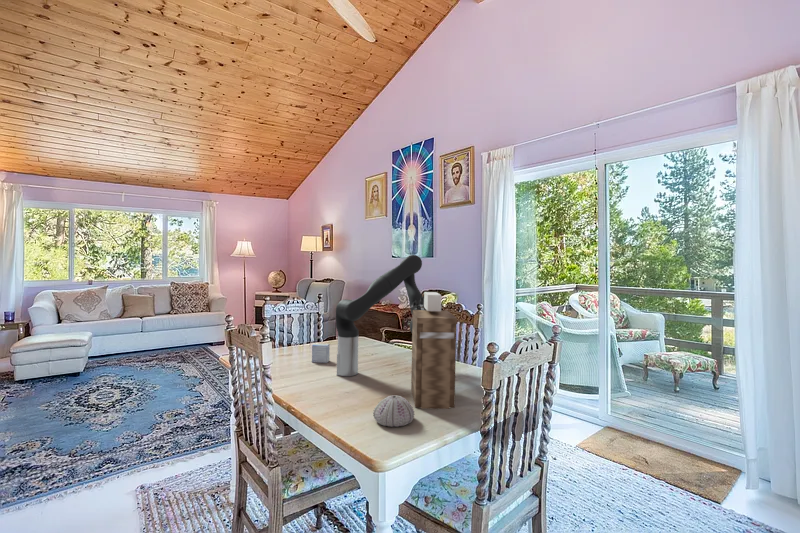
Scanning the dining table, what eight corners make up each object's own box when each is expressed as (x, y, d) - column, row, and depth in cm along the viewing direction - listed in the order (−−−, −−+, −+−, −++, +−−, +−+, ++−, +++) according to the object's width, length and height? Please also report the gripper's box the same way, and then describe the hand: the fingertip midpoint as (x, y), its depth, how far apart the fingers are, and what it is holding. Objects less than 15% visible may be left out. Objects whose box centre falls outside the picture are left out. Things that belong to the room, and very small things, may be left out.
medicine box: (329, 360, 199) (329, 343, 199) (327, 363, 194) (327, 345, 194) (314, 360, 200) (314, 343, 199) (311, 362, 195) (311, 345, 195)
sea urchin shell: (416, 429, 122) (417, 404, 122) (373, 430, 121) (373, 404, 121) (412, 412, 135) (412, 389, 135) (372, 413, 134) (372, 389, 134)
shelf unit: (415, 409, 138) (417, 318, 137) (410, 389, 158) (412, 310, 157) (455, 409, 138) (457, 318, 138) (445, 389, 159) (447, 310, 158)
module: (427, 311, 146) (427, 294, 145) (421, 304, 167) (421, 290, 166) (440, 311, 146) (441, 295, 146) (433, 304, 167) (433, 290, 167)
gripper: (408, 306, 178) (411, 289, 163) (439, 306, 179) (445, 290, 164) (408, 321, 175) (411, 306, 159) (440, 322, 175) (446, 307, 160)
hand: (429, 298), depth 162 cm, fingers closed on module, 4 cm apart
